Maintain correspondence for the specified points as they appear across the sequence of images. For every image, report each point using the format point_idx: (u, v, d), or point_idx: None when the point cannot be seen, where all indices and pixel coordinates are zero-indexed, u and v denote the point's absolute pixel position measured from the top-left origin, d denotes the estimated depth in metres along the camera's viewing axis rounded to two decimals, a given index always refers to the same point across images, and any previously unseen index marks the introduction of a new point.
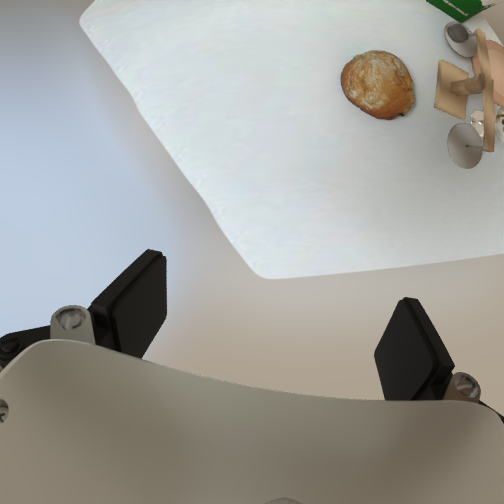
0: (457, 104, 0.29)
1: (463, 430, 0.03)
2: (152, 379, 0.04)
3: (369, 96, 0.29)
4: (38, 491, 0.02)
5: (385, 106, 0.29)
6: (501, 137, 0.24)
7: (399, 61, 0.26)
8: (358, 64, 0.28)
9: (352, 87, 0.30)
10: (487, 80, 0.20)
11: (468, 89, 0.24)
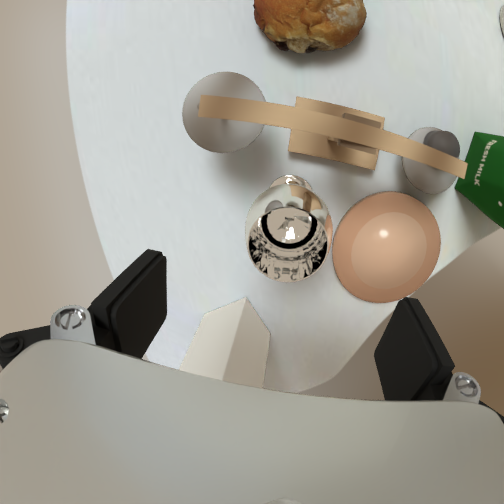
0: (310, 136, 0.23)
1: (463, 430, 0.03)
2: (152, 379, 0.04)
3: None
4: (38, 491, 0.02)
5: None
6: None
7: (352, 15, 0.15)
8: None
9: None
10: (368, 131, 0.14)
11: None
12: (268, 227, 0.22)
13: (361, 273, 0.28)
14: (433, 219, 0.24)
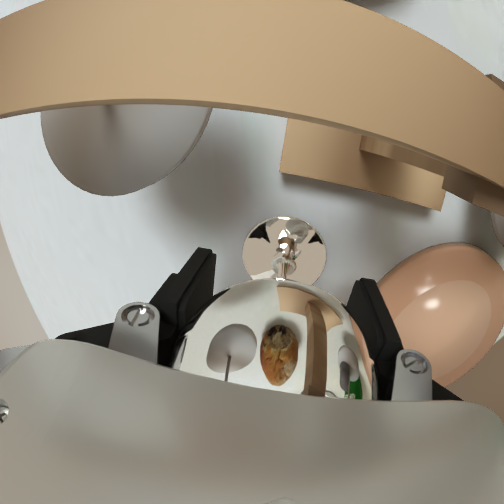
0: (325, 141, 0.11)
1: (463, 430, 0.03)
2: (152, 379, 0.04)
3: None
4: (38, 491, 0.02)
5: None
6: (194, 313, 0.07)
7: None
8: None
9: None
10: None
11: None
12: None
13: None
14: None
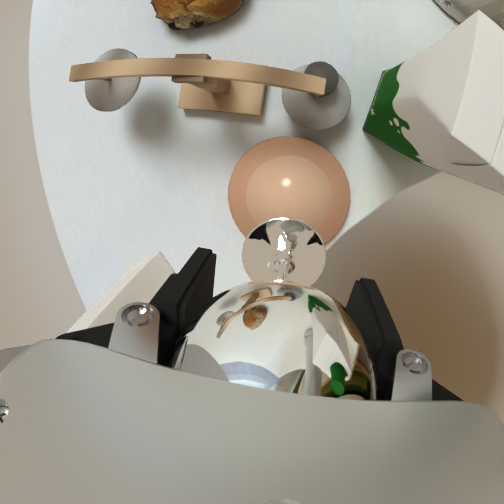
0: (196, 92, 0.24)
1: (463, 430, 0.03)
2: (152, 379, 0.04)
3: None
4: (38, 491, 0.02)
5: None
6: (194, 315, 0.07)
7: None
8: None
9: None
10: (194, 63, 0.15)
11: None
12: None
13: (260, 221, 0.29)
14: (335, 161, 0.25)
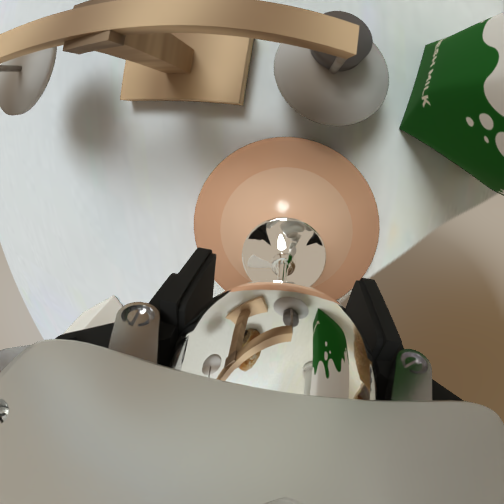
0: (145, 74, 0.14)
1: (463, 430, 0.03)
2: (152, 379, 0.04)
3: None
4: (38, 491, 0.02)
5: None
6: (194, 315, 0.07)
7: None
8: None
9: None
10: (97, 12, 0.06)
11: None
12: None
13: (242, 267, 0.19)
14: (359, 177, 0.16)
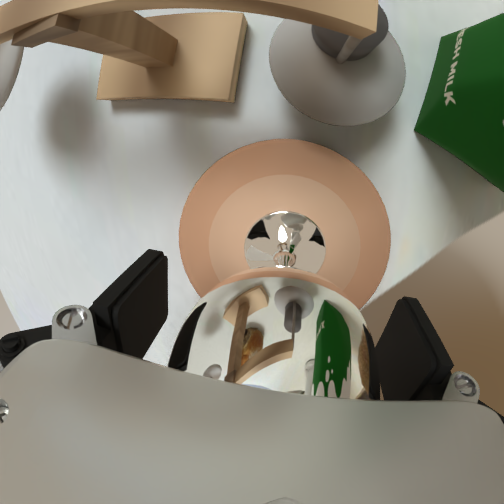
0: (123, 69, 0.12)
1: (463, 430, 0.03)
2: (152, 379, 0.04)
3: None
4: (38, 491, 0.02)
5: None
6: (200, 299, 0.08)
7: None
8: None
9: None
10: None
11: None
12: None
13: None
14: (369, 186, 0.14)
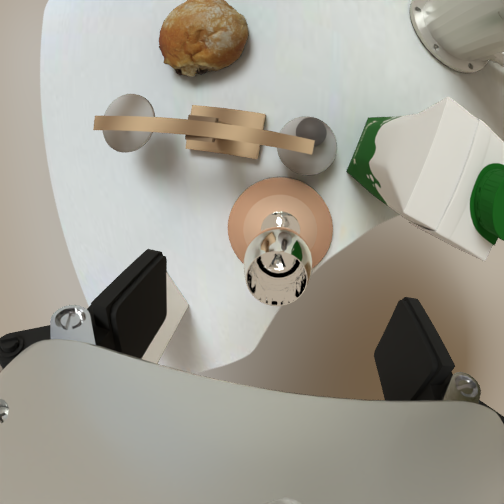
0: None
1: (463, 430, 0.03)
2: (152, 379, 0.04)
3: (174, 13, 0.21)
4: (38, 491, 0.02)
5: (164, 31, 0.22)
6: None
7: (225, 40, 0.22)
8: None
9: (187, 0, 0.21)
10: (204, 126, 0.20)
11: None
12: (261, 259, 0.27)
13: None
14: (321, 200, 0.31)
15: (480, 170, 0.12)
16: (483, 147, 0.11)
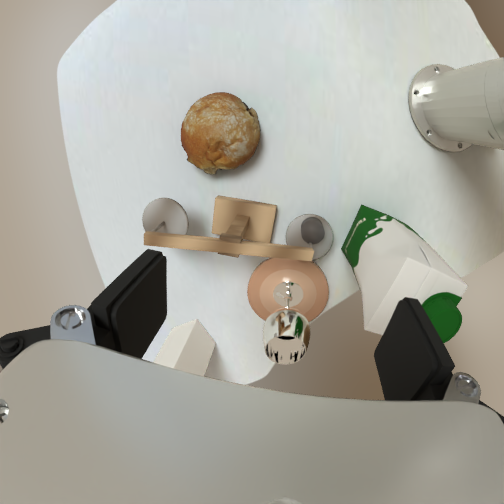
0: (225, 223, 0.38)
1: (463, 430, 0.03)
2: (152, 379, 0.04)
3: (192, 116, 0.30)
4: (38, 491, 0.02)
5: (185, 134, 0.31)
6: (270, 315, 0.34)
7: (241, 149, 0.31)
8: (229, 103, 0.29)
9: (203, 100, 0.30)
10: (232, 246, 0.29)
11: None
12: None
13: (268, 307, 0.43)
14: (319, 273, 0.40)
15: (425, 299, 0.21)
16: (430, 285, 0.20)
